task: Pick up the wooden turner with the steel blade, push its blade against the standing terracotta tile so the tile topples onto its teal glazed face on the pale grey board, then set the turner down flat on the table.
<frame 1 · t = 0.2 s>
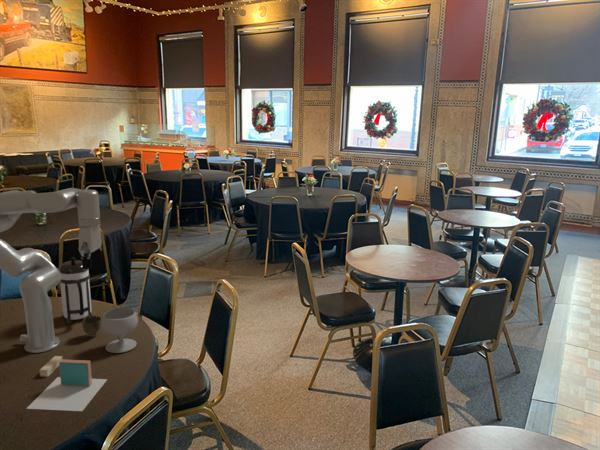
hand: (92, 264, 174), 36 cm above the table, tool pointing down, fingers open, 9 cm apart
tile: (76, 384, 155), point 1 cm above the table, touching tile board
cup: (92, 336, 193), on the table
coffee press: (79, 319, 208), on the table
turner: (52, 372, 164), on the table
tile board: (69, 397, 150), on the table
chalice: (121, 347, 184), on the table
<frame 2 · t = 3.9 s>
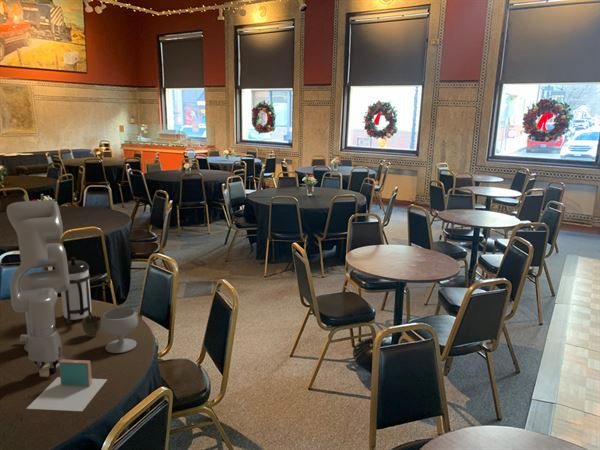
hand: (48, 375, 162), 0 cm above the table, tool pointing down, fingers closed on turner, 2 cm apart
turner: (51, 372, 164), on the table, touching gripper
everything else where it was.
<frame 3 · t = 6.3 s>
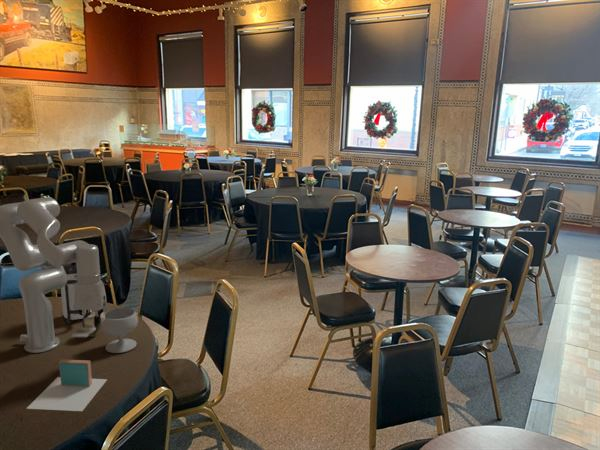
hand: (92, 324, 165), 17 cm above the table, tool pointing down, fingers closed on turner, 2 cm apart
turner: (95, 324, 167), point 17 cm above the table, touching gripper
everything else where it was.
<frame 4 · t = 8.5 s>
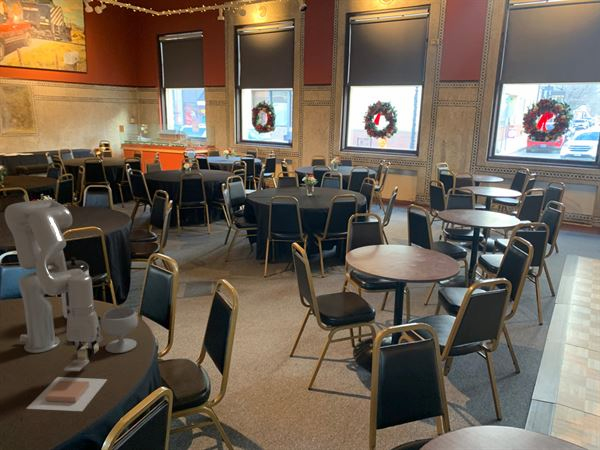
hand: (86, 356, 161), 8 cm above the table, tool pointing down, fingers closed on turner, 2 cm apart
tile: (74, 383, 154), point 3 cm above the table, tilted 90°, touching tile board
turner: (88, 355, 163), point 8 cm above the table, touching gripper
everything else where it was.
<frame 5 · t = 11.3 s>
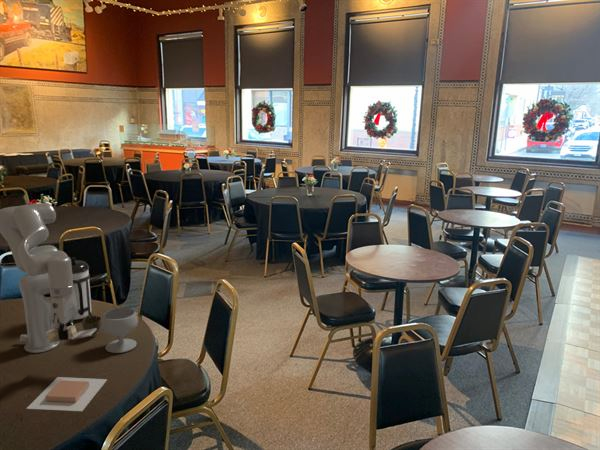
hand: (66, 336, 163), 14 cm above the table, tool pointing down, fingers closed on turner, 2 cm apart
turner: (63, 339, 163), point 13 cm above the table, tilted 15°, touching gripper
everything else where it was.
when the fingers open (1 cm above the table, at t = 13.6 s): turner drops 1 cm, on the table.
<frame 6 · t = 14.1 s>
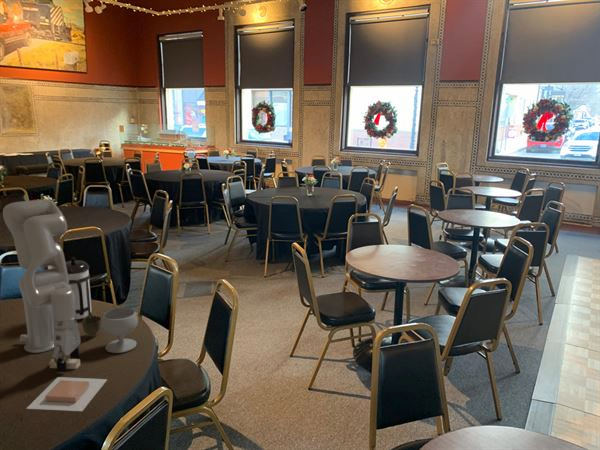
hand: (68, 364, 166), 2 cm above the table, tool pointing down, fingers open, 8 cm apart
turner: (65, 370, 166), on the table
everything else where it was.
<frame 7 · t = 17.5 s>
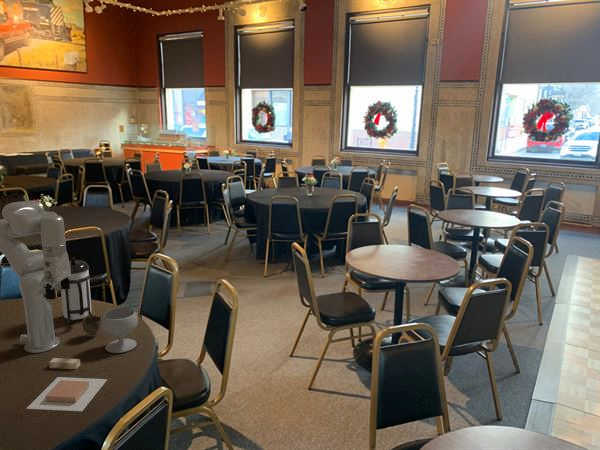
hand: (58, 293, 165), 28 cm above the table, tool pointing down, fingers open, 9 cm apart
nothing on the table moved.
at the end: tile tilted 90°; tile inside the target area on the tile board (4.9 cm from its centre), point 2.7 cm above the tile board's base; turner inside the target area (2.1 cm from its centre), on the table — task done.
